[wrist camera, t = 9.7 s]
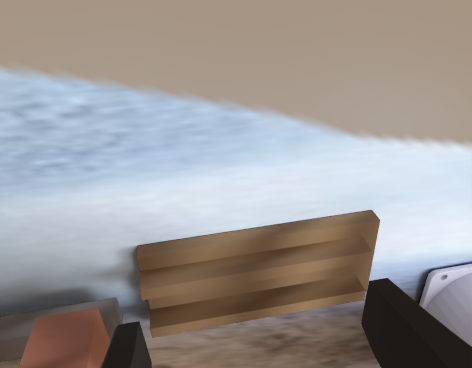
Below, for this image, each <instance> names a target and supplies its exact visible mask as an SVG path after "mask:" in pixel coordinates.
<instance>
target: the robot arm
mask: <svg viewBox="0 0 472 368" xmlns="http://www.w3.org/2000/svg"><path fill="white" fill-rule="evenodd" d="M361 324H362V326H363V329H364V331H365V334H366V336H367V339H368V341H369V344H370V346H371V348H372V351H373V353H374V355H375V357H376V359H377V361H378V363H379V364H380V366H381V368H472V264H467V265H461V266H455V267H449V268H444V269H438V270H434V271H432V272H430V273H429V275H428V277H427V281H426V284H425V287H424V291H423V294H422V297H421V300H420V304H418V303H416V302H415V301H414V300H413V299H412V298H410V297H409V296H408V295H407V294H406V293H405V292H403V291H402V290H401V289H400V288H399V287H397V286H396V285H395V284H394V283H393V282H391V281H390V280H389V279H388V278H385V279H379V280H373V281H369V285H368V290H367V295H366V301H365V306H364V311H363V317H362V322H361ZM101 368H152V363H151V359H150V356H149V352H148V349H147V346H146V342H145V339H144V336H143V332H142V329H141V325H140V322H139V321H138V322H132V323H126V324H121V325H118V326H117V327H116V328H115V331H114V334H113V337H112V339H111V342H110V345H109V348H108V350H107V353H106V355H105V358H104V360H103V363H102V365H101Z"/></svg>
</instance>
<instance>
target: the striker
mask: <svg viewBox="0 0 472 368" xmlns="http://www.w3.org/2000/svg"><path fill="white" fill-rule="evenodd" d="M122 318H123V316H122V313H121V310H120V307H119V304H118V301H117V298H110V299H104V300H98V301H92V302H86V303H80V304H74V305H68V306H62V307H56V308H50V309H44V310H38V311H32V312H26V313H20V314H14V315H8V316H2V317H0V362H1V361H7V360H12V359H18V358H22V359H21V362H20V365H19V368H101V365H102V363H103V360H104V358H105V355H106V353H107V350H108V348H109V345H110V342H111V339H112V337H113V334H114V331H115V328H116V327H117V326H118V325H121V324H122Z"/></svg>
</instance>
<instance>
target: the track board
mask: <svg viewBox="0 0 472 368" xmlns="http://www.w3.org/2000/svg"><path fill="white" fill-rule="evenodd" d="M379 223H380V219H379V218H378V217H377V216H376V214H375V213H374V212H373V211H372V210H369V211H363V212H356V213H350V214H343V215H336V216H330V217H323V218H317V219H310V220H304V221H297V222H290V223H284V224H277V225H271V226H264V227H258V228H251V229H244V230H238V231H231V232H225V233H218V234H212V235H205V236H198V237H192V238H185V239H179V240H172V241H166V242H159V243H152V244H146V245H139V246H138V248H137V261H138V265H139V268H140V282H139V292H140V296H141V299H142V300H148V302H149V306H150V331H151V335H152V338H154V337H160V336H166V335H171V334H177V333H182V332H188V331H193V330H199V329H204V328H210V327H216V326H221V325H227V324H232V323H238V322H243V321H249V320H255V319H260V318H266V317H271V316H277V315H282V314H288V313H293V312H299V311H305V310H310V309H316V308H321V307H327V306H332V305H338V304H343V303H349V302H355V301H360V300H364V297H365V291H367V287H368V282H369V276H370V271H371V266H372V260H373V255H374V250H375V244H376V239H377V234H378V228H379Z"/></svg>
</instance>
